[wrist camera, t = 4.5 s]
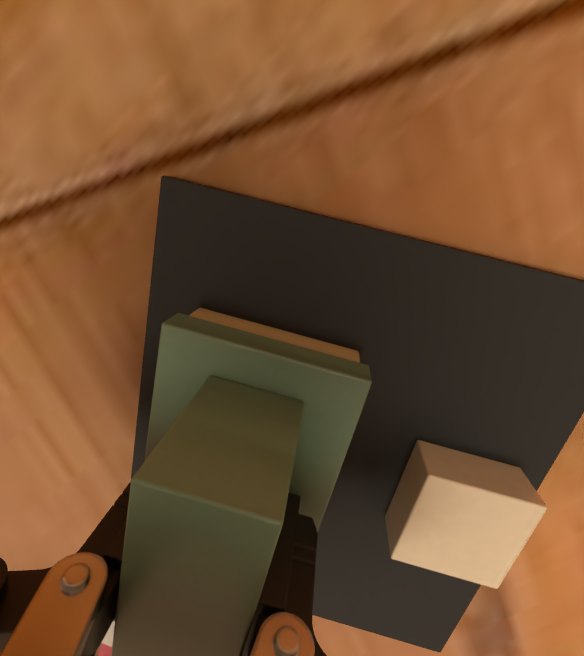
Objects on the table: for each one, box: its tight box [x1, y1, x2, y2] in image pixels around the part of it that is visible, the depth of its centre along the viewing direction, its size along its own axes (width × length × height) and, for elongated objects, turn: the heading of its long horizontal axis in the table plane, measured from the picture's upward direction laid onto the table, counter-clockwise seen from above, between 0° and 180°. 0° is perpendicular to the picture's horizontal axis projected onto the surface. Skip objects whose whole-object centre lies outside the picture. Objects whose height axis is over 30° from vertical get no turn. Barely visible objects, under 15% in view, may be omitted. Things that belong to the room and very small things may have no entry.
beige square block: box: [385, 440, 547, 589], centre depth 14 cm, size 4×4×2 cm
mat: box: [131, 176, 584, 652], centre depth 15 cm, size 18×16×1 cm
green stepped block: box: [111, 308, 372, 656], centre depth 12 cm, size 10×6×7 cm, turn 166°
